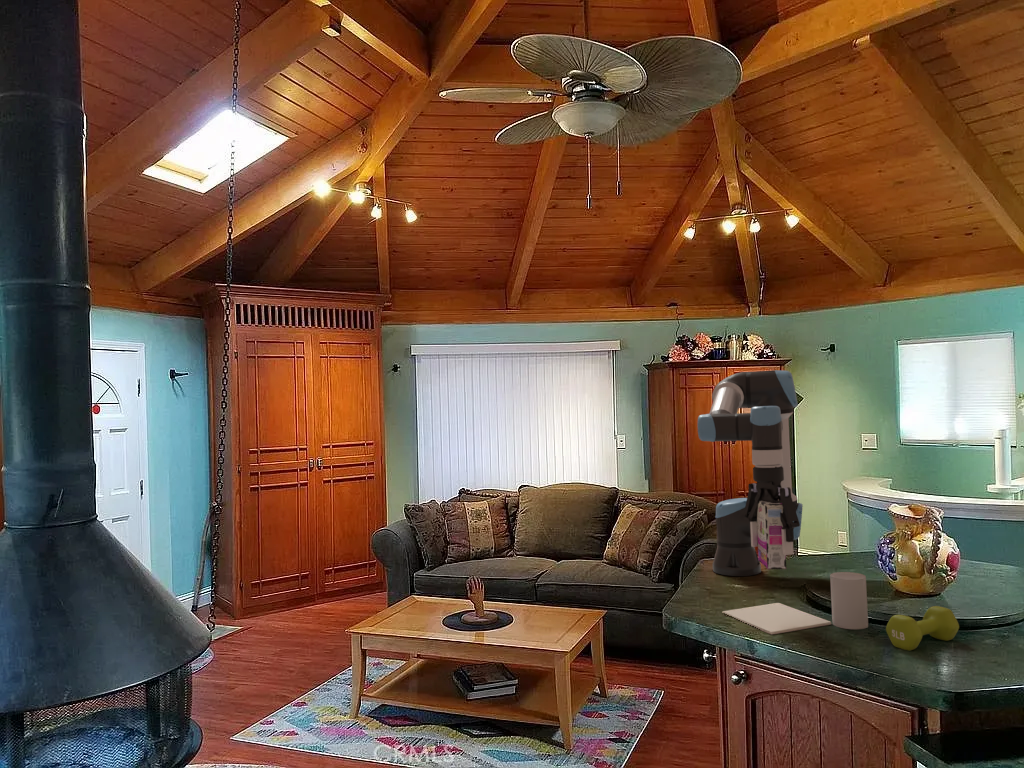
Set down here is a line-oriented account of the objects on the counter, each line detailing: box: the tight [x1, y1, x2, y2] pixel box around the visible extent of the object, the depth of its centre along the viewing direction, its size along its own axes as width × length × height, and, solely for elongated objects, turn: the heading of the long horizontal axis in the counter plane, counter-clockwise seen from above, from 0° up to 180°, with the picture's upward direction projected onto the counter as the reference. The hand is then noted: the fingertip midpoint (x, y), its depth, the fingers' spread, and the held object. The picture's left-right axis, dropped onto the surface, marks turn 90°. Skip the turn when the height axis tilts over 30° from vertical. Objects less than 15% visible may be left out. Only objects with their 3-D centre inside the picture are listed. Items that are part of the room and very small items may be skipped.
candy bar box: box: [757, 501, 787, 570], centre depth 198 cm, size 11×5×16 cm, turn 174°
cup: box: [829, 571, 869, 630], centre depth 191 cm, size 8×8×12 cm
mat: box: [721, 602, 832, 635], centre depth 198 cm, size 18×20×1 cm
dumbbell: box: [885, 605, 960, 651], centre depth 175 cm, size 16×8×7 cm, turn 115°
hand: (771, 550), depth 198 cm, fingers closed on candy bar box, 12 cm apart
